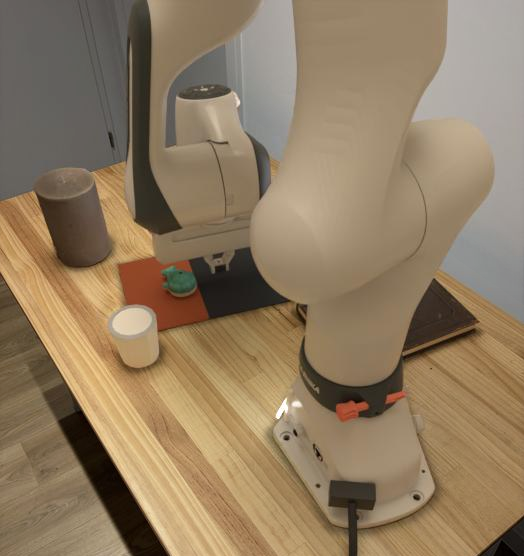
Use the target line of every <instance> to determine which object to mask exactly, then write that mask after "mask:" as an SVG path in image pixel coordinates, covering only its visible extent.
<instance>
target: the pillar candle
mask: <svg viewBox="0 0 524 556" xmlns="http://www.w3.org/2000/svg"><path fill="white" fill-rule="evenodd" d="M33 190H34V193H35V196H36V198H37V201H38V205H39V207H40V210H41V212H42V216H43V218H44V223H45V225H46V228H47V229H48V234H49V236H50V239H51V242H52V246H53V247H54V249H55V251H56V253H55V254H56V258H57V259H58V260H59V261H60V262H61V263H62V264H64V265H66V266H67V267H68V266H69V267H73V268H83V267H84V268H85V267H89V266H93V265H95V264H98V263H100V262H102V261H104V260H105V259H106V258H107V257H108V256H109V255H110V254H111V250H112V242H111V239H110V234H109V230H108V227H107V226H108V225H107V223H106V222H107V221H106V217H105V215H104V211H103V207H102V203H101V199H100V195H99V192H98V187H97V184H96V179H95V176H94V175H93V174H92V173H91V172H90V171H89V170H87V168H81V167H80V168H79V167H61V168H56V169H52V170H49V171H47V172H46V173H44V174H42V175H41V176H40V177H38V178H37V180H36V181H35V182H34V186H33Z"/></svg>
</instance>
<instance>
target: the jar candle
mask: <svg viewBox="0 0 524 556" xmlns="http://www.w3.org/2000/svg"><path fill="white" fill-rule="evenodd" d="M107 330H108V332H109V335H110V336H111V338H112V340H113V343H114V345H115V347H116V349H117V352H118V353H119V356H120V358H121V360H122V361H123V363H124V364H125V365H126V366H128V367H130V368H135V369H140V368H146V367H148V366H151V365H153V363H155V362H156V361H157V360H158V358H159V355H160V345H159V333H158V332H159V331H157V320H156V314H155V313H154V311H153V310H152V309H150V308H148V307H146V306H143V305H129V306H127V305H125V306H123V307H120V308H118V309H116V310H115V311H114V312H113V313H111V315H110V316H109V319H108V320H107Z"/></svg>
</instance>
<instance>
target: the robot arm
mask: <svg viewBox="0 0 524 556" xmlns="http://www.w3.org/2000/svg"><path fill="white" fill-rule="evenodd" d="M266 2H267V0H135V2H133V3H132V5H131V8H130V12H129V16H128V23H127V32H126V33H127V34H126V39H127V40H126V67H125V69H126V79H125V81H126V84H125V85H126V86H125V87H126V89H125V91H126V154H125V171H124V177H123V194H124V195H123V196H124V200H125V204H126V207H127V210H128V212H129V214H130V216H131V218H132V220H133V222H134V224H137V225H138V226H140V227H141V228H143V229H144V230H147V232H148V234H150V235H151V244H152V252H153V254H154V257H155V258H156V260H157V261H158V262H159V263H161V264H162V265H165V264H170V263H175V262H180V261H184V260H189V259H194V258H199V257H203V258H204V260H205V261H206V262H207V263H208V264H209V266H210V270H211V273H212V274H214V273H219V272H223V271H228V270H229V262H230V261H231V259H232V258H233V256H234V254H235V250H237V249H242V248H246V247H250V248H251V253H252V256H253V259H254V262H255V264H256V267H257V268H258V270H259V272H260V274H261V275H262V277H263V278H264V280H265V281H266V282H267V283H268V284H269V285H270V286H271V287H272V288H273V289H274V290H275V291H276V292H278V293H279V294H280V295H282V296H284V297H286V298H287V299H289V300H291V301H290V302H294V303H296V304H297V303H299V304H308V306H307V319H306V324H305V331H304V332H305V334H304V335H303V337H302V340H301V343H300V347H299V351H298V372H297V374H296V376H295V377H294V379H293V381H292V383H291V385H290V386H289V387H288V390H287V392H286V398H285V399H284V401H283V402H282V404H281V406H280V408H279V410H278V411H277V413H276V416H275V418H277V419H279V420H278V421H277V423H276V424H275V425H274V427H273V431H272V437H273V440H274V441H275V442H276V444H277V446H278V447H279V449H280V450H281V452H282V453H283V454H284V456H285V457H286V459H287V460H288V462H289V464H290V465H291V466H292V468H293V470H294V471H295V473H296V474H297V476H299V479H300V480H301V481H302V483H303V485H304V486H305V488H306V489H307V490H308V492H309V494H310V495H311V496H312V499H314V501H315V503H316V504H317V505H318V507H319V508H320V510H321V512H322V513H323V514H324V516H325V517H326V519H327V520H328V522H329V523H330V524H332V525H334V526H336V527H340V528H344V529H347V530H348V556H358V553H359V552H358V551H359V550H358V549H359V547H358V542H359V541H358V529H369V528H374V527H379V526H380V527H381V526H383V525H387V524H391V523H393V522H396V521H399V520H402V519H404V518H406V517H409V516H411V515H412V514H414V513H415V512H417V511H419V510H420V509H422V508H423V507H424V506H425V505H426V504H427V503H428V502H429V501H430V500H431V499H432V497H433V495H434V493H435V491H436V486H435V482H434V479H433V475H432V474H431V471H430V468H429V465H428V462H427V459H426V456H425V454H424V451H423V448H422V446H421V442H420V440H419V436H418V435H417V434H421V433H423V432H424V431H425V429H426V427H425V425H426V423H425V420H424V417H423V415H421V414H420V413H416V414H412V412H411V409H410V406H409V402H408V398H407V397H409V396H410V394H411V391H410V390H411V389H410V387H409V385H407V384H406V385H404V371H405V363H404V360H403V354H402V349H403V346H404V342H405V339H406V336H407V332H408V329H409V326H410V322H411V320H412V317H413V315H414V312H415V310H416V308H417V306H418V304H419V302H420V300H421V299H422V297H423V295H424V293H425V292H426V290H427V288H428V287H429V285H430V283H431V281H432V280H433V278H435V276H436V274H437V273H438V271H439V269H440V268H441V266H442V265H443V263H444V260H445V259H446V257H447V255H448V254H449V252H450V249H451V248H452V246H453V244H454V242H455V241H456V240H457V238H458V236H459V234H460V233H461V231H462V230H463V229H464V227H465V225H467V223H468V222H469V220H470V219H471V217H472V216H473V215H474V214H475V212H476V211H477V210H478V209H479V208H480V206H481V205H482V204H483V203H484V202H485V200H486V199H487V197H488V196H489V194H490V192H491V190H492V188H493V185H494V181H495V175H496V174H495V173H496V171H495V170H496V166H495V159H494V155H493V152H492V149H491V147H490V144H489V142H488V141H487V139H486V137H485V136H484V134H483V133H482V132H481V131H480V130H479V129H478V128H477V127H476V126H474V125H473V124H471V122H468V121H467V120H464V119H462V118H459V117H450V116H449V117H440V118H439V117H438V118H428V119H425V120H417V121H413V118H414V115H415V112H416V110H417V108H418V106H419V103H420V101H421V100H422V98H423V96H424V94H425V91H426V90H427V89H428V88H429V85H430V84H431V83H432V82H433V80H434V79H435V77H436V76H437V74H438V73H439V70H440V68H441V66H442V63H443V61H444V58H445V54H446V48H447V41H448V39H447V38H448V12H449V11H448V10H449V0H291V5H292V16H293V26H294V27H293V28H294V31H293V32H294V41H295V59H296V83H295V85H296V86H295V97H294V104H293V111H292V116H291V122H290V126H289V130H288V134H287V139H286V143H285V146H284V149H283V152H282V156H281V158H280V161H279V164H278V167H277V169H276V171H275V174H273V175H274V176H273V178H272V171H271V169H272V168H271V159H270V155H269V152H268V150H267V148H266V147H265V146H264V145H263V144H262V143H261V142H259V141H258V140H257V139H256V138H255V137H254V136H252V135H251V134H250V133H249V132H247V131H245V130H244V129H243V126H242V123H241V120H240V117H239V116H240V115H239V109H238V110H237V104H236V99H235V95H234V92H235V91H234V90H232V88H230V87H229V86H226V85H223V84H212V83H209V84H199V85H195V86H190V87H187V88H183V90H181V91H180V92H179V93H177V94H176V96H175V104H174V105H175V106H174V127H175V128H174V129H175V130H174V132H175V143H176V146H175V147H166V134H167V133H166V129H167V110H168V95H169V92H170V88H171V87H172V84H173V83H174V81H175V80H176V79H177V77H178V76H179V75H180V74H181V73H182V72H183V71H184V70H185V69H187V68H188V67H189V66H190V65H192V64H194V62H196V61H197V60H199V59H200V58H201V57H203V56H205V55H207V54H208V53H210V52H212V51H213V50H215V49H217V48H219V47H221V46H223V45H225V44H227V43H229V42H230V41H232V40H233V39H235V38H236V37H238V36H239V35H240V34H241V33H243V32H244V31H245V30H246V29H247V28H249V27H250V25H251V24H252V23H253V22H254V21H255V20H256V18H257V17H258V15H259V14H260V13H261V11H262V9H263V8H264V6H265V4H266ZM222 252H224V254H223V256H222V258H217V259H212V258H213V254H218V253H222ZM282 413H283V415H282ZM281 416H282V417H281ZM280 417H281V418H280ZM285 439H288V440H285ZM414 498H417V499H418V500H416V499H414Z"/></svg>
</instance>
